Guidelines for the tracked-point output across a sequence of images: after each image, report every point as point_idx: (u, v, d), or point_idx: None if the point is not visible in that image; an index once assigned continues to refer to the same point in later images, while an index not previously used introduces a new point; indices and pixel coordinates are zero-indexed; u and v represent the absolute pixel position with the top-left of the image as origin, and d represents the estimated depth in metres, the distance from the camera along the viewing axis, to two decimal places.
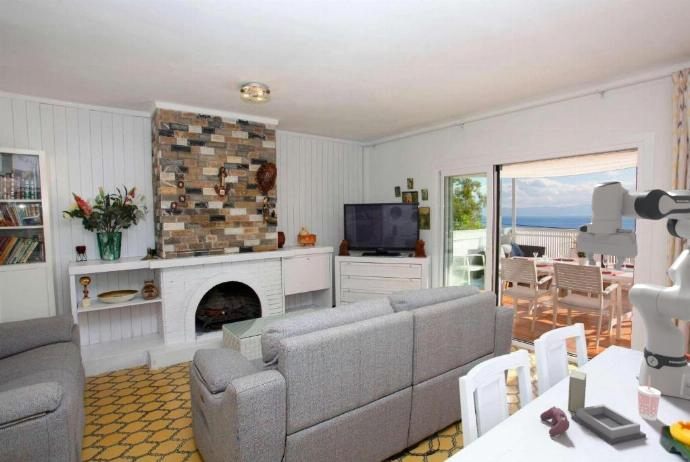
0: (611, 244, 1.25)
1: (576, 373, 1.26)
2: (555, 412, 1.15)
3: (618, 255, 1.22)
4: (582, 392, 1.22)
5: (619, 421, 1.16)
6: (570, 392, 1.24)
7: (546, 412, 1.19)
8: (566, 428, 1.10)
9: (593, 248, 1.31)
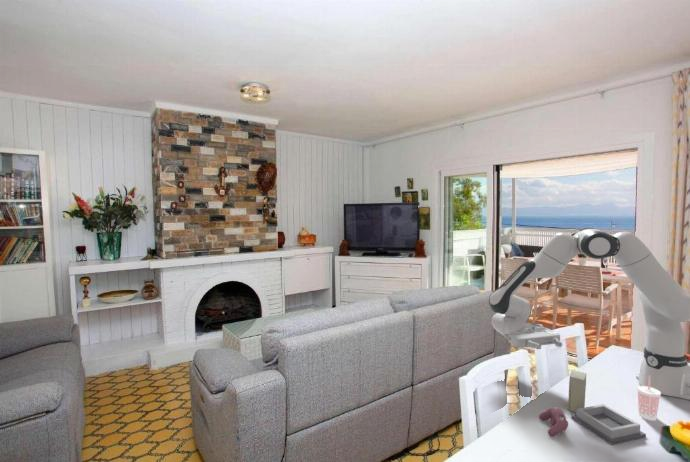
0: None
1: (576, 373, 1.26)
2: (554, 412, 1.15)
3: (525, 346, 1.40)
4: (582, 392, 1.22)
5: (619, 421, 1.16)
6: (570, 392, 1.24)
7: (545, 412, 1.19)
8: (565, 428, 1.10)
9: None
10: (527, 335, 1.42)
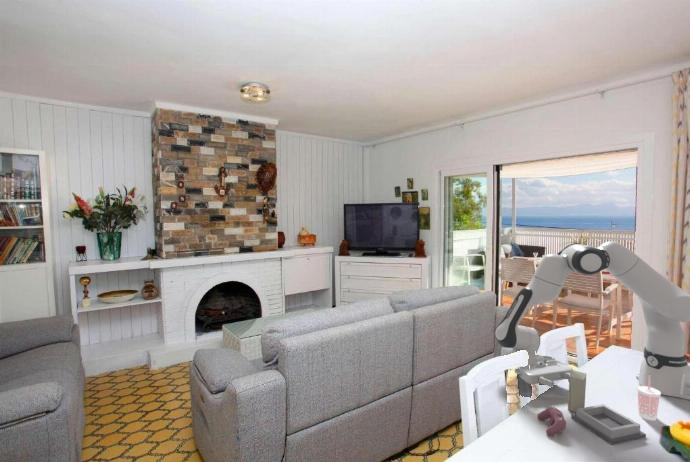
0: None
1: (576, 373, 1.26)
2: (552, 412, 1.15)
3: None
4: (582, 392, 1.22)
5: (619, 421, 1.16)
6: (570, 392, 1.24)
7: (543, 412, 1.19)
8: (563, 428, 1.10)
9: None
10: (539, 370, 1.37)
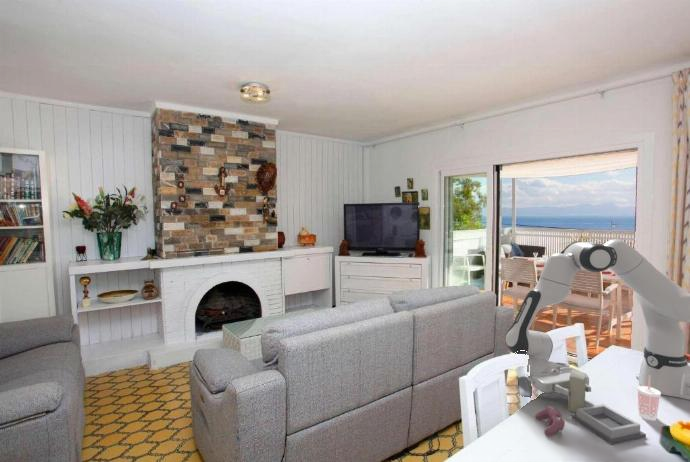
0: None
1: (576, 373, 1.26)
2: (550, 412, 1.15)
3: None
4: (582, 392, 1.22)
5: (619, 421, 1.16)
6: None
7: (541, 412, 1.19)
8: (561, 428, 1.10)
9: None
10: (553, 378, 1.30)
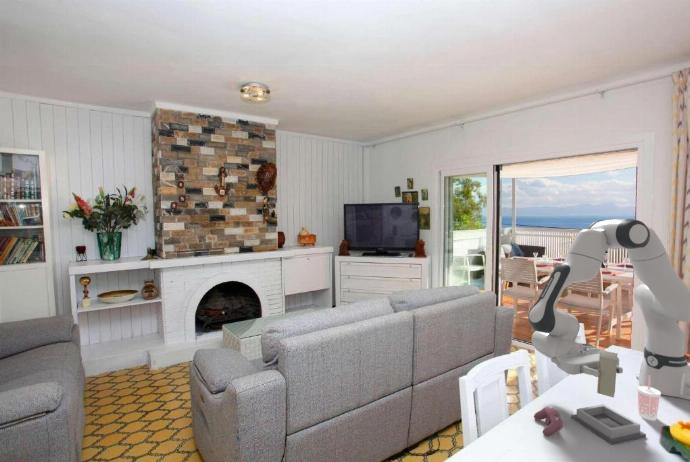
0: None
1: (606, 353, 1.15)
2: (549, 412, 1.15)
3: None
4: (614, 373, 1.11)
5: (619, 421, 1.16)
6: None
7: (540, 412, 1.19)
8: (560, 428, 1.10)
9: None
10: (580, 359, 1.20)
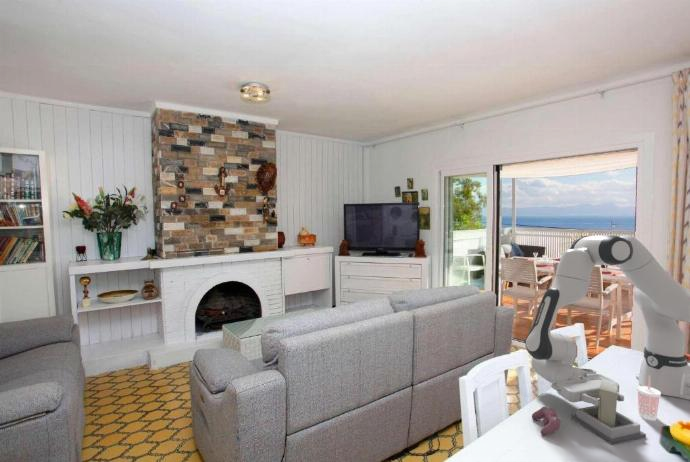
0: None
1: (606, 385, 1.15)
2: (546, 412, 1.15)
3: None
4: (614, 406, 1.11)
5: (619, 421, 1.16)
6: (600, 406, 1.14)
7: (537, 412, 1.19)
8: (557, 428, 1.10)
9: None
10: (580, 386, 1.20)
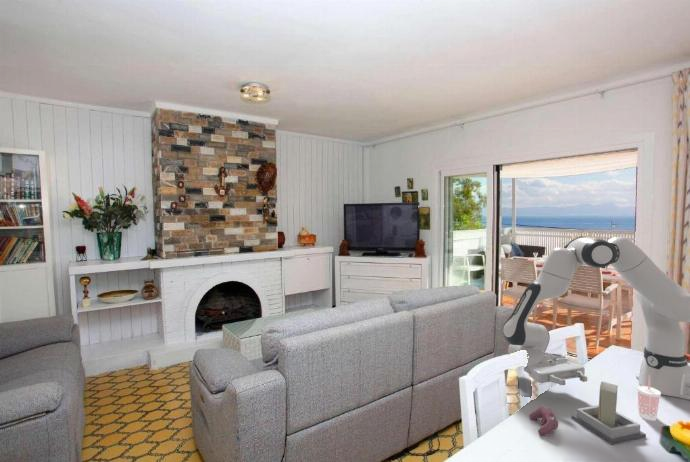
0: None
1: (606, 385, 1.15)
2: (544, 411, 1.15)
3: None
4: (614, 406, 1.11)
5: (619, 421, 1.16)
6: (600, 406, 1.14)
7: (535, 412, 1.19)
8: (555, 428, 1.10)
9: None
10: (549, 368, 1.32)
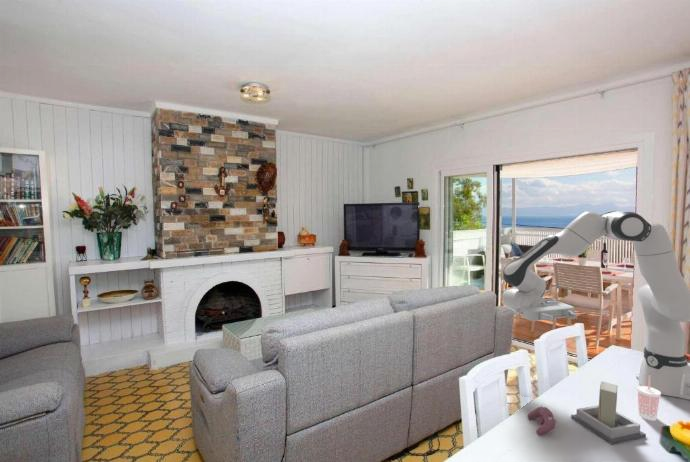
0: None
1: (606, 385, 1.15)
2: (542, 411, 1.15)
3: None
4: (614, 406, 1.11)
5: (619, 421, 1.16)
6: (600, 406, 1.14)
7: (533, 411, 1.19)
8: (553, 428, 1.11)
9: None
10: (540, 308, 1.36)
